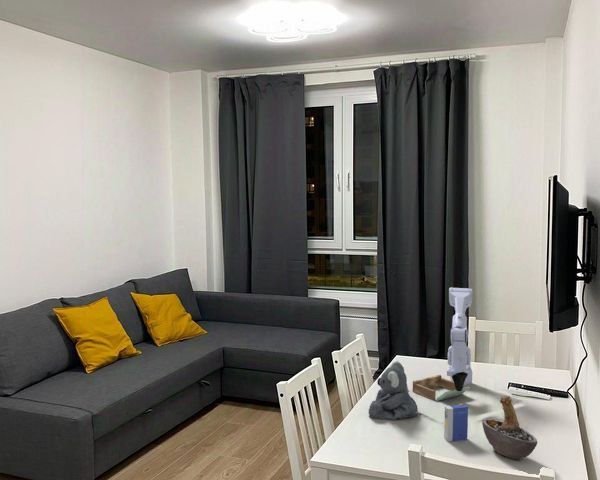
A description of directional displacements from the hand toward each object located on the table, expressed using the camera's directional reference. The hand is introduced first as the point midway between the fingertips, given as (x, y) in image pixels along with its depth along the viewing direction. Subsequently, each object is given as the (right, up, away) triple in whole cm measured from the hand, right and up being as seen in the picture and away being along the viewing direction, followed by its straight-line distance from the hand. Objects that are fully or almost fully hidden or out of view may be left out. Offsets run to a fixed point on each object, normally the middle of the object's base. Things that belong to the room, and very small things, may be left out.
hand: (458, 390), depth 241 cm
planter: (+4, -10, -45) cm, 47 cm away
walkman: (-10, -9, -33) cm, 36 cm away
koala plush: (-28, -7, -9) cm, 30 cm away
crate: (-7, -5, +11) cm, 14 cm away
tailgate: (-3, -4, +5) cm, 7 cm away
